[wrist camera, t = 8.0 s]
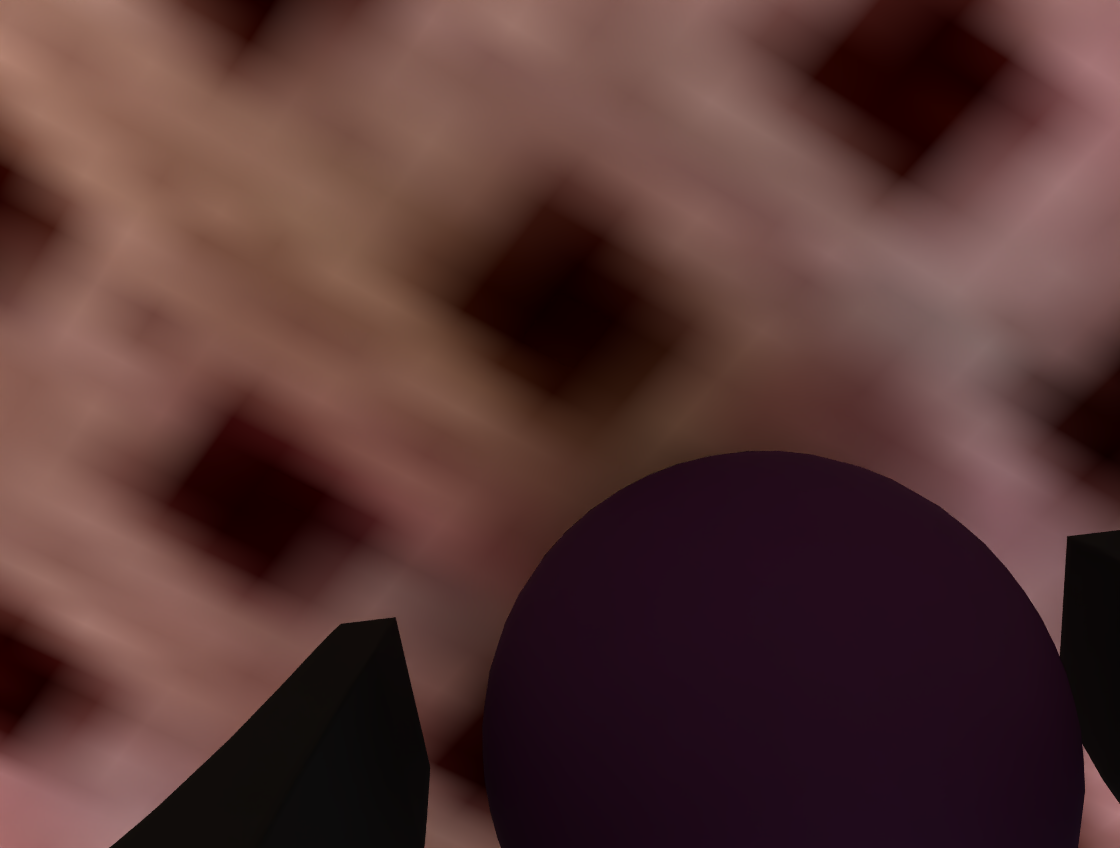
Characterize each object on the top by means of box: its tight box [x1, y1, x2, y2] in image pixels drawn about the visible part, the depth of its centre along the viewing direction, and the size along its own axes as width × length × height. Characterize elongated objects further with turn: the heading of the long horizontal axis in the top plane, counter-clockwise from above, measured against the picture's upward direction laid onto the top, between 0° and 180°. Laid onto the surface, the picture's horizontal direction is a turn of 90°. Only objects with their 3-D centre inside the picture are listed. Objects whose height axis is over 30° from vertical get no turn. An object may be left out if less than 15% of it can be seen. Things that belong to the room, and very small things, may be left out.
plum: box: [482, 451, 1085, 848], centre depth 9 cm, size 5×5×5 cm
